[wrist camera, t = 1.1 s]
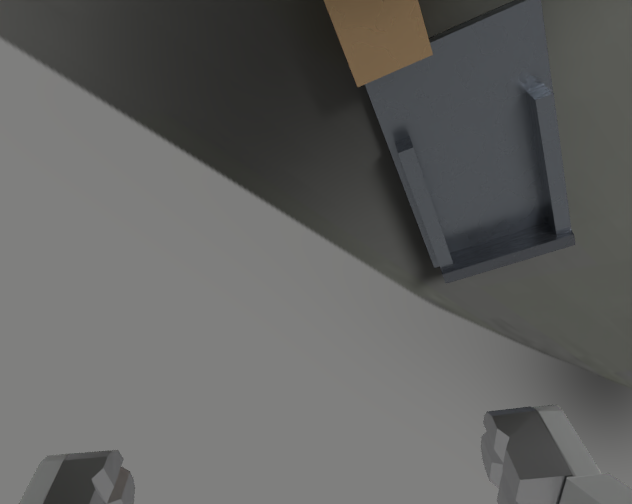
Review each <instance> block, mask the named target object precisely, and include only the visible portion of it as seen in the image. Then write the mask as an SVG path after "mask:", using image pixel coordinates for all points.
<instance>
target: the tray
mask: <svg viewBox="0 0 632 504" xmlns="http://www.w3.org/2000/svg"><path fill="white" fill-rule="evenodd" d="M429 42H430V45H431V49H432V53H433V55H431V56H429V57H427V58H424V59H422V60H420V61H417V62H415V63H413V64H410V65H408V66H406V67H404V68H401V69H399V70H397V71H394V72H392V73H390V74H388V75H385V76H383V77H381V78H378V79H376V80H374V81H371V82H369V83H367V84H365V87H366V89H367V92H368V95H369V97H370V100H371V103H372V105H373V108H374V110H375V113H376V116H377V118H378V121H379V124H380V126H381V129H382V132H383V134H384V137H385V139H386V142H387V145H388V147H389V150H390V153H391V155H392V158H393V161H394V163H395V166H396V168H397V171H398V174H399V176H400V179H401V182H402V184H403V187H404V190H405V192H406V195H407V197H408V200H409V203H410V205H411V208H412V211H413V213H414V216H415V219H416V221H417V224H418V226H419V229H420V232H421V234H422V237H423V240H424V242H425V245H426V248H427V250H428V253H429V255H430V258H431V261H432V263H433V266H434V268H435V267H439V266H440V269H441V271H442V275H443V277H444V280H445V283H450V282H453V281H456V280H460V279H463V278H466V277H470V276H473V275H476V274H480V273H483V272H486V271H490V270H493V269H496V268H499V267H503V266H506V265H509V264H513V263H516V262H519V261H523V260H526V259H529V258H533V257H536V256H539V255H543V254H546V253H549V252H553V251H556V250H559V249H563V248H566V247H569V246H572V245H575V238H574V234H573V232H572V231H571V223H570V216H569V208H568V200H567V193H566V185H565V177H564V170H563V162H562V154H561V147H560V139H559V131H558V124H557V116H556V109H555V101H554V93H553V89H552V81H551V73H550V66H549V58H548V51H547V43H546V35H545V28H544V20H543V13H542V5H541V0H514V1H512V2H510V3H507V4H505V5H503V6H501V7H498V8H496V9H494V10H492V11H489V12H487V13H485V14H483V15H480V16H478V17H476V18H474V19H471V20H469V21H467V22H465V23H463V24H460V25H458V26H456V27H454V28H451V29H449V30H447V31H445V32H442V33H440V34H438V35H436V36H433V37H431V38H429Z"/></svg>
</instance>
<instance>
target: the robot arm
mask: <svg viewBox="0 0 632 504" xmlns="http://www.w3.org/2000/svg"><path fill="white" fill-rule="evenodd" d="M483 423H484V426H485V428H486V431H487V432H486V433H484V434H483V435H482V437H481V452H482V459H483V463H484V466H485V470H486V473H487V475H488V478H489V481H490V482H492V483H493V484H494V485H495V486H497V487H498V488H499V492H498V498H497V502H498V504H632V489H631V488H630V487H628V486H627V485H626V484H624V483H623V482H621V481H620V480H618V479H617V478H616V477H614V476H613V475H611V474H610V473H601V472H600V470H599V468H598V467H597V465H596V463H595V462H594V460H593V459H592V457H591V455H590V454H589V452H588V451H587V449H586V447H585V446H584V444H583V442H582V441H581V439H580V438H579V436H578V434H577V433H576V431H575V430H574V428H573V426H572V425H571V423H570V422H569V420H568V418H567V417H566V415H565V413H564V412H563V410H562V409H561V408H560V407H559V406H558V405H547V406H539V407H523V408H516V409H506V410H498V411H489V412H486V414H485V415H484V421H483ZM122 462H123V457H122V456H121V454H120V452H119V451H118V450H112V451H99V452H87V453H74V454H61V455H51V456H47V457H46V458H45V459H44V460H43V461H42V462H41V463H40V464H39V466H38V468H37V470H36V472H35V474H34V476H33V478H32V480H31V482H30V483H29V485H28V487H27V489H26V491H25V493H24V495H23V497H22V499H21V501H20V503H19V504H134V494H135V485H134V480H133V477H132V475H131V473H130V471H128V470H126V469H124V468H123V467H121V465H122Z"/></svg>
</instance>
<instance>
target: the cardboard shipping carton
mask: <svg viewBox="0 0 632 504" xmlns="http://www.w3.org/2000/svg"><path fill="white" fill-rule="evenodd" d="M324 3H325V5H326V8H327V10H328V13H329V15H330V18H331V20H332V23H333V26H334V28H335V31H336V33H337V36H338V38H339V41H340V44H341V46H342V49H343V51H344V54H345V56H346V59H347V61H348V64H349V67H350V69H351V72H352V74H353V77H354V79H355V82H356V85H357V87H360V86H362V85H365V84H367V83H369V82H371V81H374V80H376V79H378V78H381V77H383V76H385V75H388V74H390V73H392V72H394V71H397V70H399V69H401V68H404V67H406V66H408V65H410V64H413V63H415V62H417V61H420V60H422V59H424V58H427V57H429V56H431V55H433V53H432V49H431V45H430V42H429V38H428V35H427V31H426V27H425V24H424V20H423V17H422V13H421V9H420V6H419V2H418V0H324Z"/></svg>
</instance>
